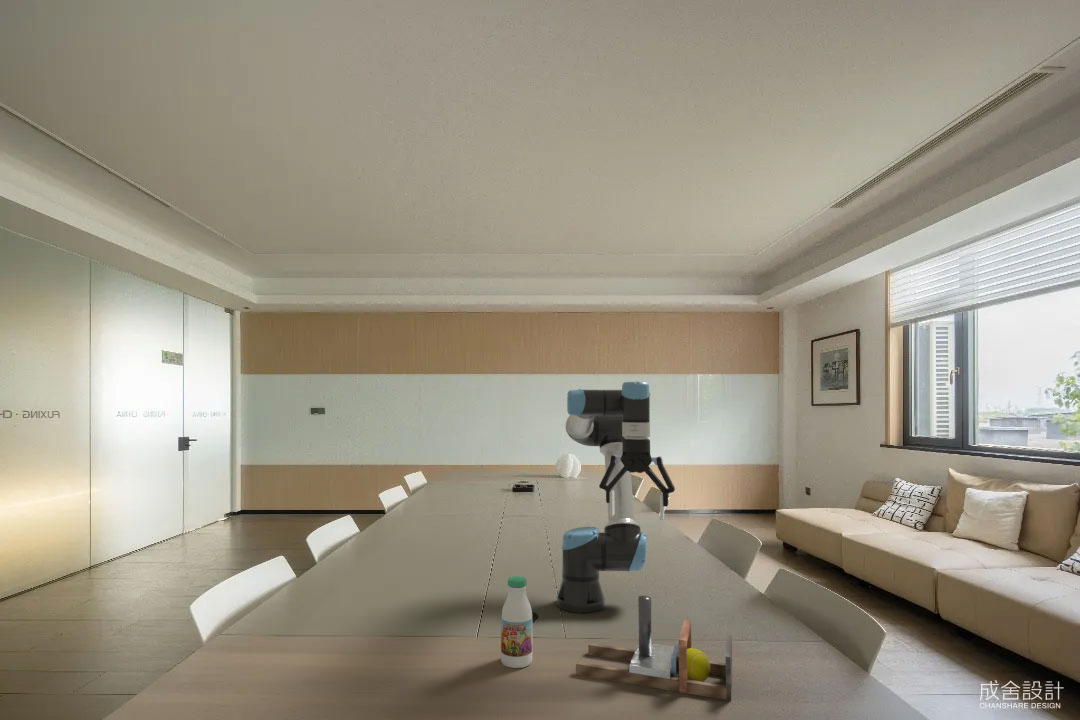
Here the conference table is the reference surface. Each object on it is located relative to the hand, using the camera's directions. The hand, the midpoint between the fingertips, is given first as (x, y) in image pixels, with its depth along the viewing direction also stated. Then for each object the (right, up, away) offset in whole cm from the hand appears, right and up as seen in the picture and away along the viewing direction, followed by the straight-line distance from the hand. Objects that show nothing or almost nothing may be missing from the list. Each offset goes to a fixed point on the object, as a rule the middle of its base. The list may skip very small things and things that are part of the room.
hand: (636, 517), depth 154 cm
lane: (+1, -31, -21) cm, 37 cm away
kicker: (+1, -31, -21) cm, 37 cm away
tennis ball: (+9, -31, -24) cm, 40 cm away
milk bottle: (-32, -32, -14) cm, 47 cm away
